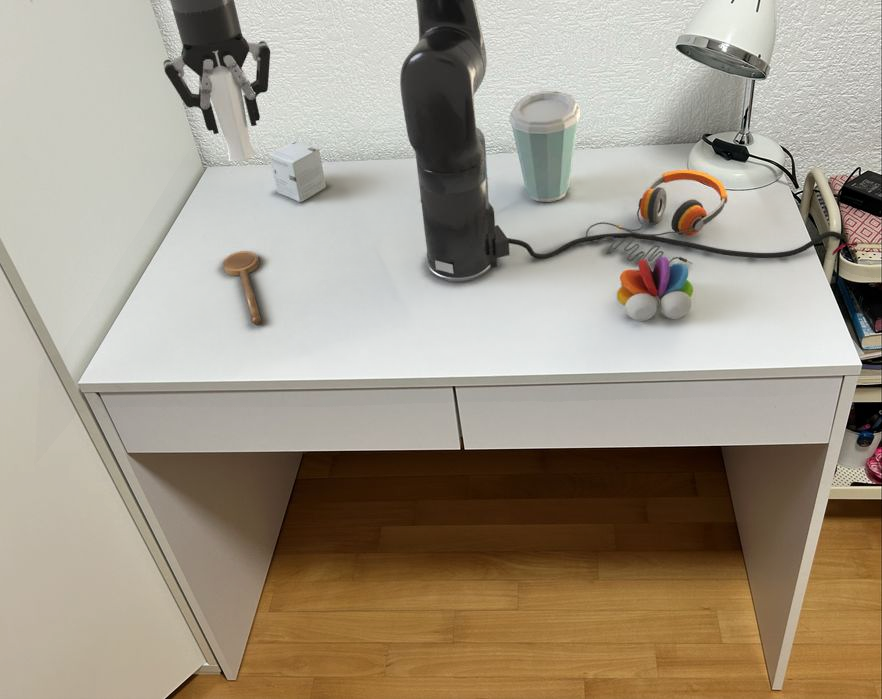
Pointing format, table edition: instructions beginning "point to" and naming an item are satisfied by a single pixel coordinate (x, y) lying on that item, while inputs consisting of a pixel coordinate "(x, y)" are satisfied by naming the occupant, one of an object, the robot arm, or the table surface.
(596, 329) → the table surface
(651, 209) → the headphones
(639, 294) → the rainbow petal fan toy
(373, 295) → the table surface
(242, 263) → the wooden spoon
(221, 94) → the perfume bottle
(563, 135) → the disposable coffee cup
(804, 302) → the table surface
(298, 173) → the product carton
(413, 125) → the robot arm
